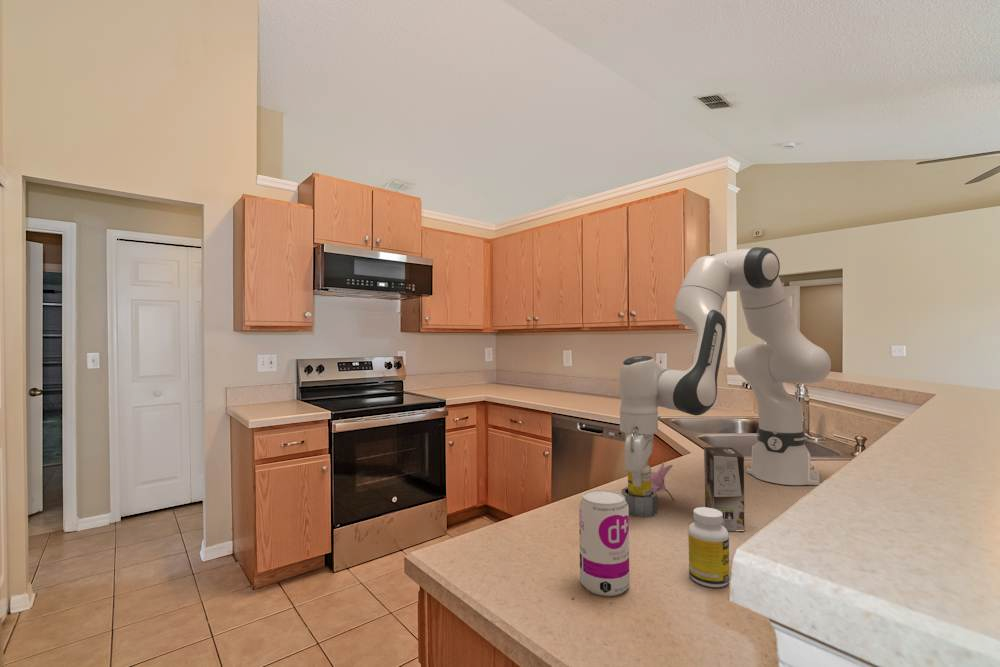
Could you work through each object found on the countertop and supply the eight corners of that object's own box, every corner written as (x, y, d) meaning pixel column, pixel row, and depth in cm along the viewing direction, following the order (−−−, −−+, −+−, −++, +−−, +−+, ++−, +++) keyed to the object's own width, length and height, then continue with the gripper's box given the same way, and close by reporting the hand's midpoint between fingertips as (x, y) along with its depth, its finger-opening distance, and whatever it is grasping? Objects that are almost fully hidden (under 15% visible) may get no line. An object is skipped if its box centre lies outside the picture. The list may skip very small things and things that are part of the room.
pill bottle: (722, 593, 78) (721, 522, 78) (682, 580, 82) (681, 512, 82) (735, 578, 82) (734, 511, 82) (697, 566, 87) (696, 502, 87)
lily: (649, 493, 130) (632, 464, 129) (691, 483, 124) (674, 452, 123) (644, 522, 119) (626, 490, 118) (690, 512, 114) (671, 478, 113)
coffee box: (746, 532, 101) (745, 456, 101) (713, 530, 103) (712, 455, 103) (734, 516, 110) (733, 446, 110) (704, 514, 112) (703, 445, 112)
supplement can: (639, 593, 78) (638, 501, 78) (594, 601, 76) (592, 507, 76) (613, 570, 86) (612, 486, 86) (572, 577, 83) (571, 491, 84)
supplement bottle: (628, 492, 118) (627, 452, 118) (651, 494, 116) (650, 453, 116) (627, 499, 112) (627, 458, 112) (652, 501, 111) (651, 459, 111)
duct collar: (632, 502, 120) (632, 484, 120) (662, 510, 114) (662, 491, 114) (615, 511, 114) (615, 492, 114) (646, 519, 109) (646, 500, 109)
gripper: (646, 433, 104) (647, 496, 104) (657, 417, 122) (657, 471, 122) (617, 431, 106) (618, 493, 106) (632, 416, 125) (632, 469, 125)
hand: (639, 481), depth 114 cm, fingers closed on supplement bottle, 5 cm apart
